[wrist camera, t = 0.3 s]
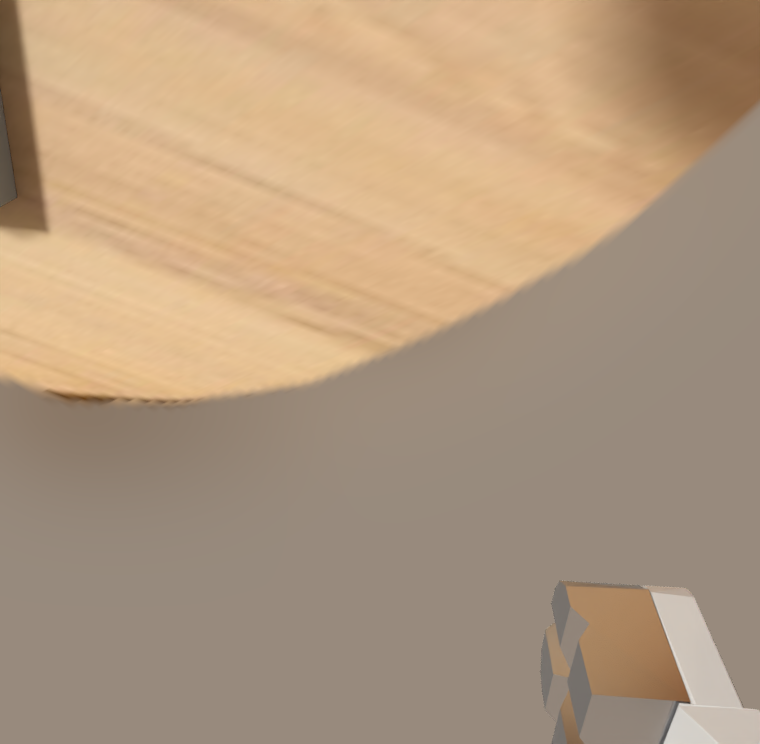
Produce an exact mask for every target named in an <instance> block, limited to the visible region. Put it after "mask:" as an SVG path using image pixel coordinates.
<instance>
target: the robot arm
mask: <svg viewBox="0 0 760 744" xmlns="http://www.w3.org/2000/svg"><path fill="white" fill-rule="evenodd" d="M551 605H552V610H553V615H554V619H555V623H553V624H552V625H551V626H550V627H548V628H547V629H546V630H545V634H544V639H543V645H542V650H541V670H540V673H541V685H542V695H543V701H544V707H545V710H546V712H547V713H548V714H549V715H550V716H551V717H552V718H553V720H554V721H555V722H556V727H555V731H554V735H553V739H552V743H551V744H760V711H759V710H758V709H749V708H744V707H743V704H742V702H741V700H740V698H739V696H738V693H737V691H736V689H735V687H734V684H733V682H732V680H731V678H730V676H729V674H728V671H727V669H726V667H725V664H724V662H723V660H722V658H721V655H720V653H719V651H718V649H717V647H716V644H715V642H714V640H713V638H712V635H711V633H710V631H709V629H708V627H707V624H706V623H705V620H704V618H703V615H702V613H701V611H700V609H699V607H698V604H697V602H696V600H695V598H694V596H693V594H692V593H691V592H690V591H689V590H688V589H687V588H677V587H661V586H660V587H659V586H642V587H641V586H639V585H624V584H607V583H591V582H574V581H559V582H558V584H557V586H556V588H555V591H554V595H553V599H552V603H551Z"/></svg>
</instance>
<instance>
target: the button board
mask: <svg viewBox="0 0 760 744" xmlns="http://www.w3.org/2000/svg"><path fill="white" fill-rule="evenodd" d="M15 198H17V193H16V187H15V181H14V174H13V168H12V161H11V155H10V148H9V142H8V136H7V129H6V123H5V116H4V110H3V103H2V97H1V90H0V207H1V206H3V205H5V204H6V203H8V202H10V201H12V200H13V199H15Z"/></svg>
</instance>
